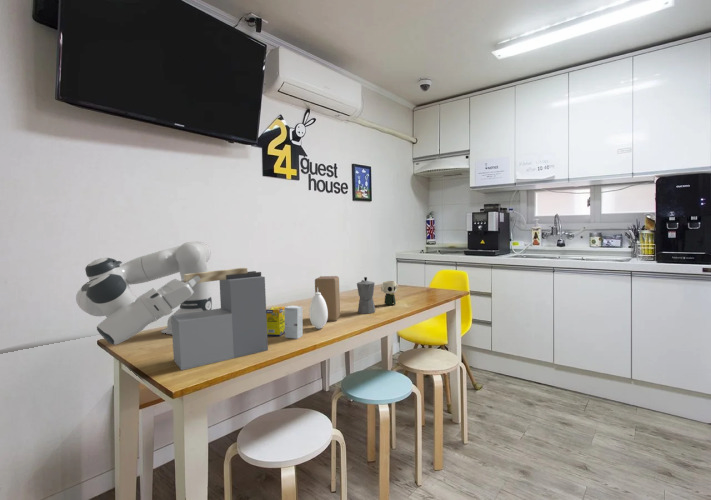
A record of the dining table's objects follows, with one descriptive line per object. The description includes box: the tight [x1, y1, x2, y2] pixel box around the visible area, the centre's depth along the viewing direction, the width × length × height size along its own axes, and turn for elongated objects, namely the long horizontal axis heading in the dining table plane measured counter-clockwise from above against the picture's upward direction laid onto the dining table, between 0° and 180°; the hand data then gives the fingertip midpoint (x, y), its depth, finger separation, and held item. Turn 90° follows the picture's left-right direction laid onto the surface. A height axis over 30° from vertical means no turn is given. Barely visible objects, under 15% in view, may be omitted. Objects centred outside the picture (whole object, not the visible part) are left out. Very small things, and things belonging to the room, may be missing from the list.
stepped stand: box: [170, 270, 269, 371], centre depth 122 cm, size 28×12×28 cm, turn 127°
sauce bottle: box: [308, 287, 328, 330], centre depth 154 cm, size 8×8×18 cm
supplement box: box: [266, 306, 286, 337], centre depth 146 cm, size 6×6×11 cm
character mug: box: [380, 280, 399, 306], centre depth 200 cm, size 11×7×13 cm, turn 117°
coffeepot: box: [356, 276, 376, 315], centre depth 184 cm, size 15×9×18 cm, turn 12°
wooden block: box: [314, 275, 341, 322], centre depth 170 cm, size 10×10×20 cm
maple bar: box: [184, 267, 249, 283], centre depth 121 cm, size 20×3×3 cm, turn 128°
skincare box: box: [284, 305, 304, 340], centre depth 142 cm, size 6×4×12 cm
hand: (197, 276), depth 117 cm, fingers closed on maple bar, 3 cm apart
